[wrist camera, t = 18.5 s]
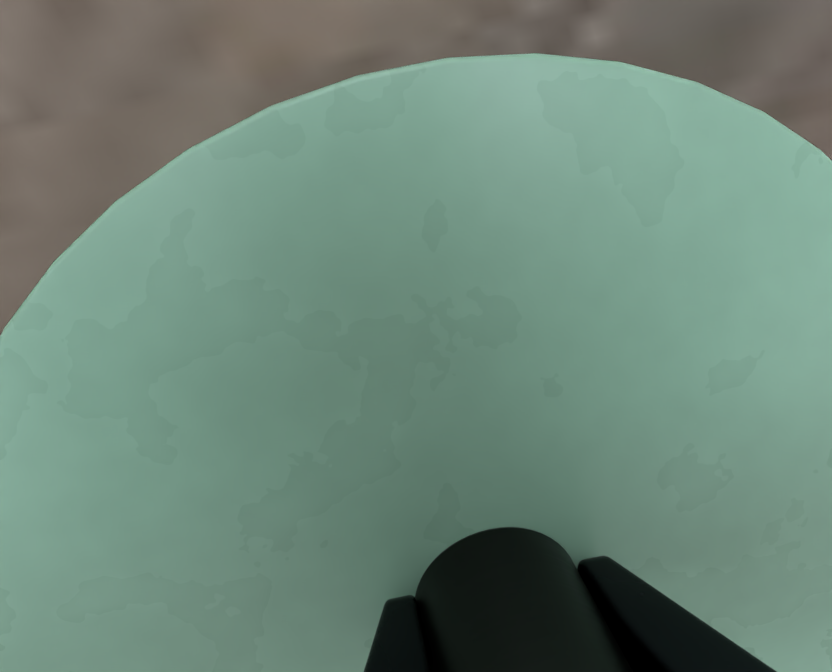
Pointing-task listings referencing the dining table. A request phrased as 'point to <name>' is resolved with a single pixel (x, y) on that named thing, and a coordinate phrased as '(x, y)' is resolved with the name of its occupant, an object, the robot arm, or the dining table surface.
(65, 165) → the dining table surface
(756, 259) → the pot lid
